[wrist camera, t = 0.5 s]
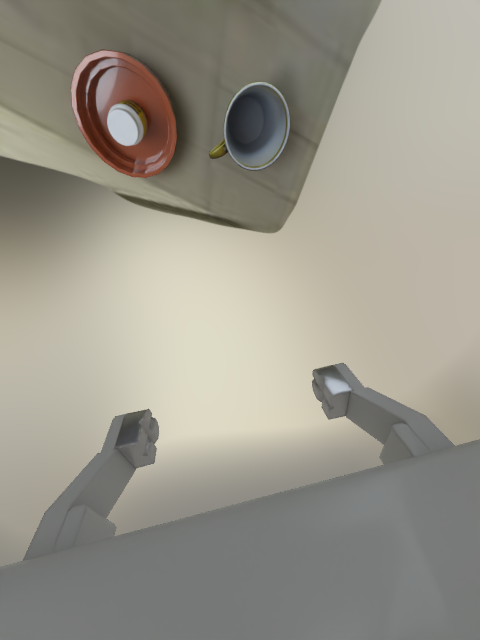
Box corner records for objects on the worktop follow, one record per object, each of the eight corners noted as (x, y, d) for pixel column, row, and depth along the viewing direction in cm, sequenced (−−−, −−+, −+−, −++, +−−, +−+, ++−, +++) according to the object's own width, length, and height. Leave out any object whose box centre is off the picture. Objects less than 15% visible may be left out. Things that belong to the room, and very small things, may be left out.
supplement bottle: (146, 104, 35) (139, 110, 30) (149, 140, 39) (143, 152, 33) (113, 95, 34) (99, 100, 29) (119, 133, 37) (107, 145, 32)
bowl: (100, 16, 29) (90, 10, 26) (193, 113, 37) (193, 117, 34) (70, 124, 36) (59, 130, 33) (154, 185, 44) (151, 195, 41)
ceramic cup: (262, 63, 34) (280, 63, 28) (279, 137, 42) (296, 150, 35) (191, 111, 37) (192, 121, 31) (219, 173, 44) (224, 191, 38)
